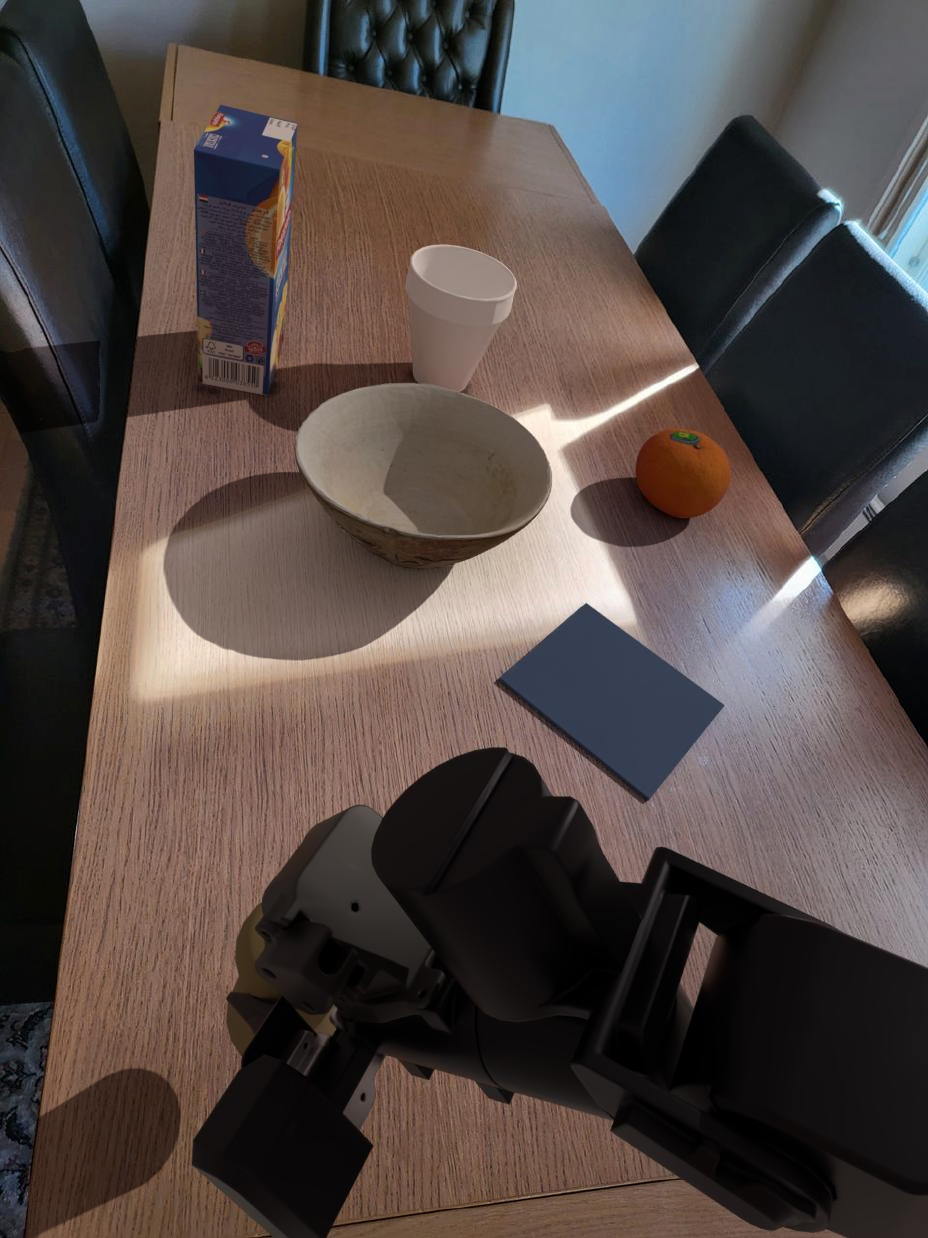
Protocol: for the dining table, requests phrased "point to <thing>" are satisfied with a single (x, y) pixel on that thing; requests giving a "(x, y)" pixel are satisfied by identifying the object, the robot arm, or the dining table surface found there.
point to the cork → (259, 985)
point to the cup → (454, 311)
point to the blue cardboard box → (242, 246)
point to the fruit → (682, 472)
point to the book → (614, 698)
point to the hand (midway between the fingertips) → (267, 952)
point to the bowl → (422, 472)
